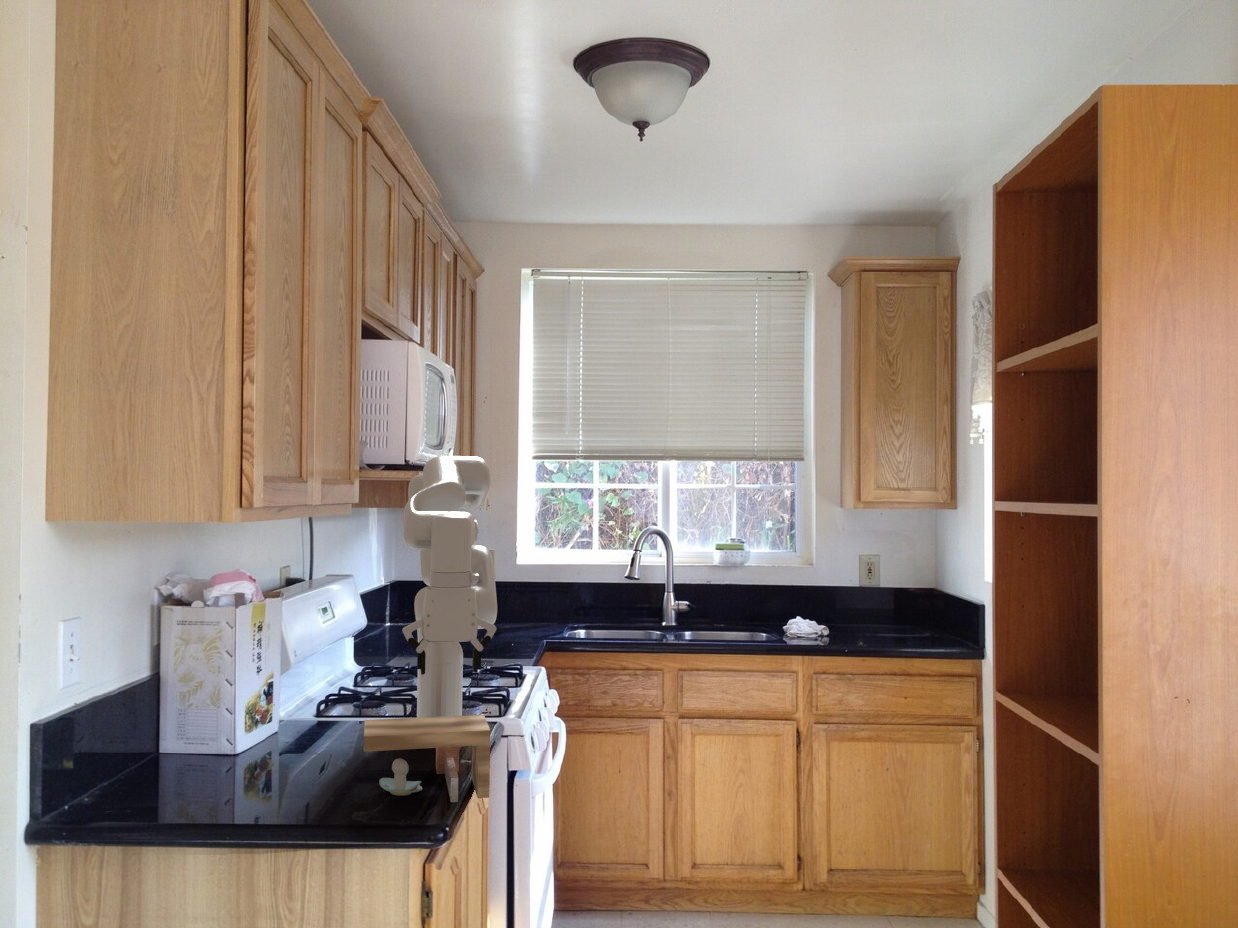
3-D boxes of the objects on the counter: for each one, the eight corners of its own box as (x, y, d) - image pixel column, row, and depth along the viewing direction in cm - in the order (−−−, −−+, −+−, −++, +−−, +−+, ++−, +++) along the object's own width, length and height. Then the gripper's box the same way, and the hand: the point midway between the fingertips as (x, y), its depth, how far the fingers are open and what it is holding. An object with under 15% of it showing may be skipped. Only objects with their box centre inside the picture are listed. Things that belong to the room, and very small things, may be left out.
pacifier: (390, 785, 169) (375, 795, 163) (391, 750, 170) (376, 758, 164) (429, 789, 168) (414, 799, 162) (430, 753, 168) (415, 762, 162)
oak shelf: (363, 785, 169) (364, 720, 169) (482, 777, 174) (483, 714, 174) (362, 805, 158) (363, 736, 158) (489, 797, 163) (490, 730, 163)
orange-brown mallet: (435, 767, 180) (436, 719, 180) (457, 766, 180) (458, 718, 181) (442, 802, 160) (443, 748, 160) (466, 801, 161) (467, 747, 161)
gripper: (494, 577, 184) (493, 666, 184) (402, 578, 179) (401, 669, 179) (499, 582, 176) (497, 674, 176) (403, 583, 172) (402, 678, 172)
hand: (449, 672), depth 178 cm, fingers open, 9 cm apart
